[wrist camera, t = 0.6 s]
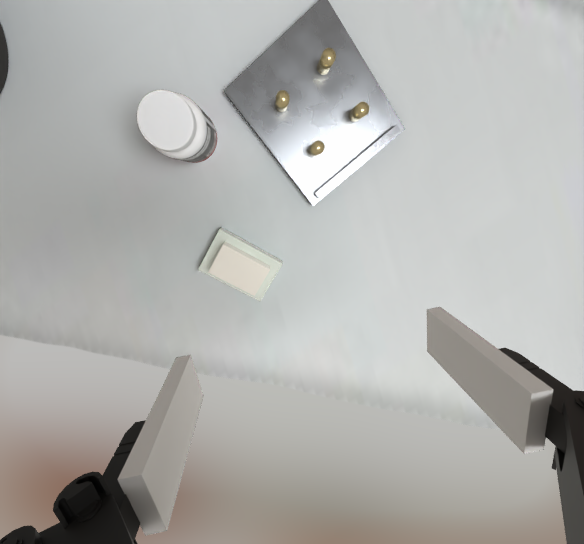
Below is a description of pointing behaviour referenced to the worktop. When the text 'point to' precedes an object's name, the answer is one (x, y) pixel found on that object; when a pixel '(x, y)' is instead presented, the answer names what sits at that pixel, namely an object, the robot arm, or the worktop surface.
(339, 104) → the plate
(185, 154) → the pill bottle
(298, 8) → the worktop surface
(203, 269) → the soap dish
